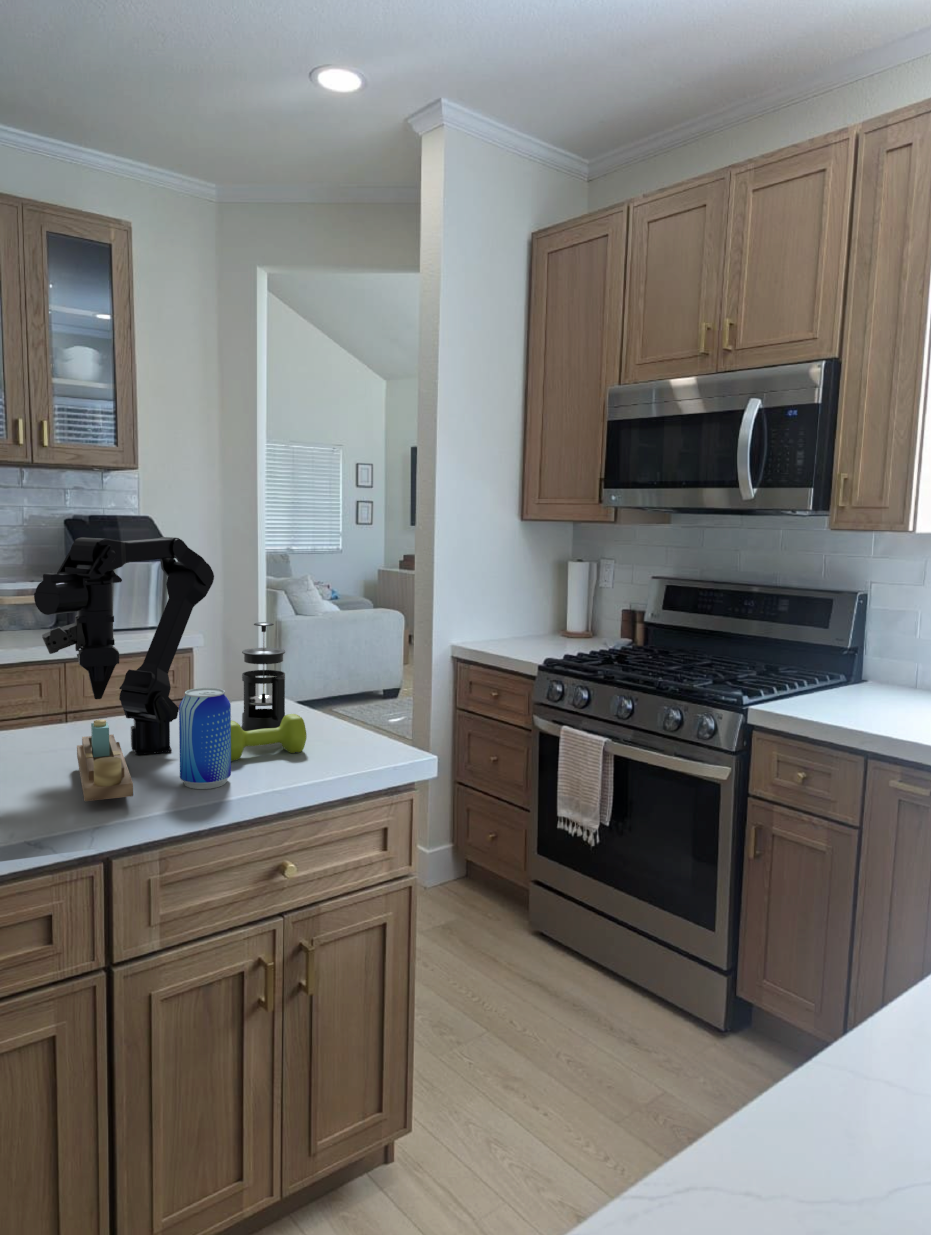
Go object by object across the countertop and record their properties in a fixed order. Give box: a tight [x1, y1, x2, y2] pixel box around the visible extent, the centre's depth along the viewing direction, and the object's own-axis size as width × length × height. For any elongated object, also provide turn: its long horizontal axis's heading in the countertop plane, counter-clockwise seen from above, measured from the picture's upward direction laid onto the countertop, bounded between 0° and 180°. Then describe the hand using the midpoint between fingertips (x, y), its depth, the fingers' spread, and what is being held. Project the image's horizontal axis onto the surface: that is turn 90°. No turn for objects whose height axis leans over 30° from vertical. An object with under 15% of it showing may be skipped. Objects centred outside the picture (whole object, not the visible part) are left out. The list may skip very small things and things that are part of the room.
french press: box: [240, 621, 286, 731], centre depth 186 cm, size 12×9×23 cm
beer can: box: [178, 687, 232, 790], centre depth 149 cm, size 8×8×16 cm
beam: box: [76, 734, 134, 802], centre depth 146 cm, size 7×26×8 cm, turn 26°
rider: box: [90, 719, 110, 757], centre depth 151 cm, size 3×4×6 cm, turn 26°
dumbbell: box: [231, 713, 308, 762], centre depth 168 cm, size 16×8×7 cm, turn 121°
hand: (97, 696), depth 155 cm, fingers open, 4 cm apart
